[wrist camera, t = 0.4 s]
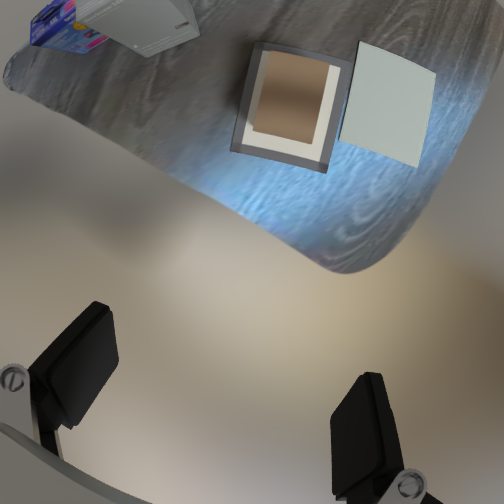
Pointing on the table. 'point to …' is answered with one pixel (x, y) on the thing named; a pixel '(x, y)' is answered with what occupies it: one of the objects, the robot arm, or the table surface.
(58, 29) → the ink cartridge box
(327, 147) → the grey framed panel
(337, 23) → the table surface
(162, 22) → the skincare box
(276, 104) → the walnut block
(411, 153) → the sage mat
